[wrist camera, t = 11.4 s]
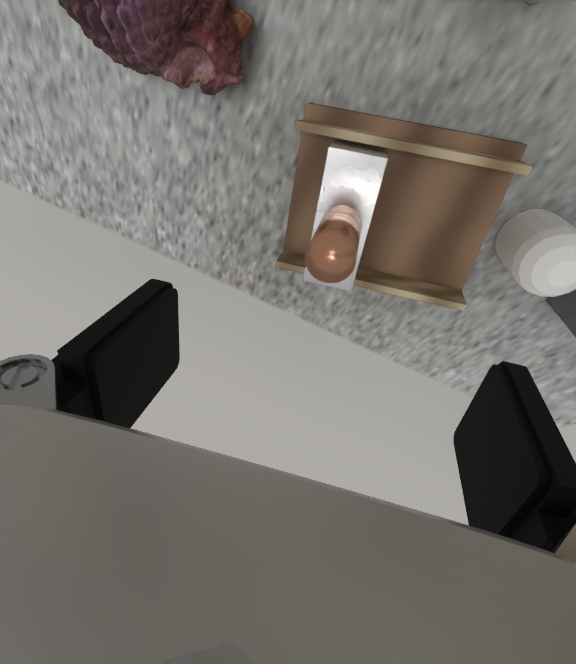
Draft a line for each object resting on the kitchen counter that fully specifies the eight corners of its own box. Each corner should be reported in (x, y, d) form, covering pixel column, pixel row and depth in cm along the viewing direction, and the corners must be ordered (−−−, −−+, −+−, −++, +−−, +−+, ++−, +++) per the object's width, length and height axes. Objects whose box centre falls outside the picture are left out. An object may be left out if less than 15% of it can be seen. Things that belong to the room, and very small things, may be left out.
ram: (387, 148, 30) (389, 177, 19) (355, 264, 36) (343, 337, 25) (337, 138, 30) (312, 161, 20) (314, 254, 36) (284, 322, 25)
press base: (521, 142, 30) (541, 149, 26) (451, 299, 37) (459, 321, 33) (309, 102, 31) (299, 103, 27) (284, 260, 39) (273, 278, 35)
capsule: (529, 196, 31) (569, 222, 25) (579, 230, 32) (631, 265, 25) (481, 248, 34) (504, 284, 28) (527, 279, 35) (562, 322, 28)
